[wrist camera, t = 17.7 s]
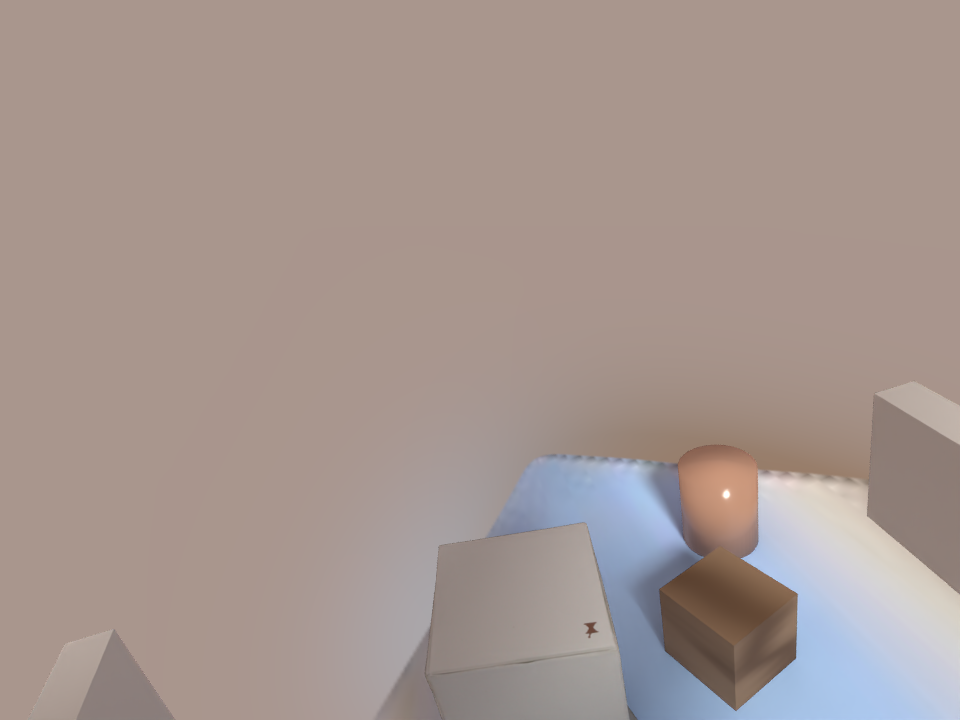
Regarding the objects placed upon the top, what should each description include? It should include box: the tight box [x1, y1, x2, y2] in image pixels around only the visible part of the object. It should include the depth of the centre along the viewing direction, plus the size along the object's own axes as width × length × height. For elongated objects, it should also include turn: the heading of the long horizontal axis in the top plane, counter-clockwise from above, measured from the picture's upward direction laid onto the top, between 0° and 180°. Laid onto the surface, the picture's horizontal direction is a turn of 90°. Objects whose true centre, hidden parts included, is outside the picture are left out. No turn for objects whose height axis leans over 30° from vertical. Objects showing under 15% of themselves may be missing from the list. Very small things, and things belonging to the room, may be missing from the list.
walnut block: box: [659, 546, 798, 711], centre depth 36 cm, size 5×5×5 cm
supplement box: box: [425, 523, 629, 720], centre depth 29 cm, size 7×7×13 cm
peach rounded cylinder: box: [678, 445, 758, 558], centre depth 44 cm, size 5×5×6 cm
